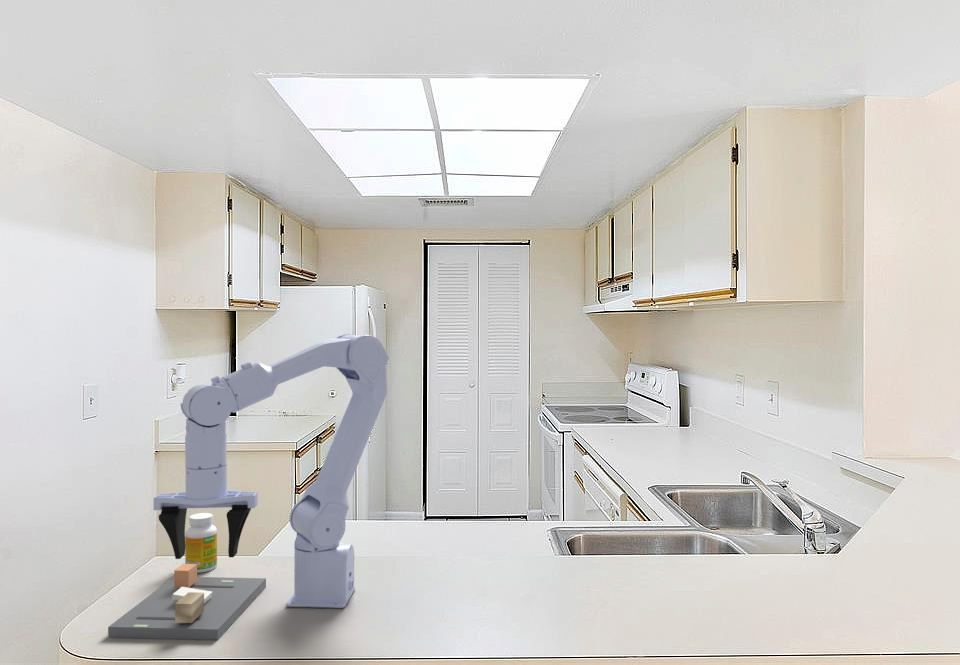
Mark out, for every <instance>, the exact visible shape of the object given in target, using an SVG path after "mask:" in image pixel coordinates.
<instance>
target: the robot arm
mask: <svg viewBox="0 0 960 665" xmlns="http://www.w3.org/2000/svg"><path fill="white" fill-rule="evenodd" d="M389 359H390V358H389V355H388V353H387V352H386V348H385V347H384V345H383V343H382V341H380V340H379V339H378V338H377V337H376V336H374V335H369V334H365V335H364V334H363V335H352V334H350V333H349V334H348V333H346V334H345V333H344V334H341V335H338V336H337V337H331V338H328V339H324V340H322V341H319V342H318V343H315V344H313V345H311V346H309V347H307V348H305V349H302V350H300V351H298V352H296V353H294V354H292V355H290V356H288V357H286V358H283V359H281V360H279V361H277V362H275V363H273V364H271V365H268V366H267V365H265V364H263V363H261V362H255V363H252V362H251V361H250V362H249V361H247V362H244V363H242V364H240V368H241V369H238V370H236V371H234V372H231V373H229V374H226V375H224V376H222V377H220V376H214V377H211V379H210V381H211V384H204V383H203V384H201V383H200V384H197V385H195V386H192V387H191V388H190V389H188V390H187V392H186V393H185V394H184V396H183V399H182V402H181V403H180V409H181V412H182V414H183V415H184V416H185V417H186V419H185V421H186V422H185V439H184V440H185V441H184V443H185V447H184V448H185V449H184V450H185V451H184V455H185V456H184V457H185V460H184V461H185V462H184V463H185V464H184V465H185V466H184V468H185V469H184V470H185V491H182V492H181V491H180V492H174V493H159V494H156V495H155V496H154V497H153V511H160V513H159V514H158V520H159V521H158V522H160V524H161V525H162V527H163V528H164V530H165V532H166V534H167V536H168V538H169V540H170V543H171V546H172V549H173V550H172V551H173V554H174V558H175V560H180V559H182V557H184V556H185V533H186V519H187V512H188V509H212V508H213V509H217V508H222V509H223V508H231V509H229V510H228V511H227V512H226V520H227V528H228V548H227V549H228V558H234V557H235V556H237V554H238V549H239V548H238V547H239V543H240V538H241V535H242V532H243V529H244V526H245V523H246V521H247V519H248V516H249V515H250V512H251V510H252V509H255V508H256V507H257V506H258V504H259V502H258V501H259V500H258V499H259V496H258V494H259V493H258V492H257V491H240V490H228V484H227V483H228V482H227V481H228V480H227V478H228V476H227V475H228V473H227V471H228V467H227V466H228V464H227V457H228V456H227V455H228V454H227V453H228V452H227V450H228V448H227V446H228V445H227V444H228V443H227V439H228V438H227V436H228V435H227V433H226V432H227V429H226V428H227V425H226V424H227V422H226V421H227V420H228V418H229V417H230V415H231V413H234V414H236V413H237V412H239V411H241V410H243V409H245V408H249V407H251V406H253V405H255V404H257V403H260V402H261V401H264V400H266V399H268V398H270V397H272V396H273V395H274V394H275V392H276V390H277V387H278V386H279V385H281V384H282V383H285V382H287V381H290V380H294V379H295V378H297V377H301V376H302V375H305V374H309V373H311V372H313V371H315V370H318V369H321V368H322V367H324V368H325V367H327V368H328V367H329V368H336V370H338V371H339V372H340V373H341V375H343V377H344V378H345V380H346V381H347V384H348V386H349V387H350V391H351V393H352V394H351V397H350V399H349V403H348V405H347V407H346V409H345V411H344V414H343V416H342V419H341V421H340V423H339V426H338V428H337V429H336V430H337V431H336V433H335V435H334V438H333V440H332V442H331V445H330V447H329V450H328V452H327V454H326V457H325V459H324V462H323V464H322V466H321V468H320V471H319V472H318V475H317V479H316V480H315V481H313V483H311V485H309V486H308V487H307V488H306V489H305V492H304V494H303V495H302V498H300V500H298V501H297V502H296V503H295V505H293V507H292V509H291V511H290V514H289V524H290V526H291V529H292V530H293V531H294V532H295V533H296V538H295V540H294V543H293V545H294V549H293V550H294V552H293V554H294V558H293V559H294V563H293V564H294V565H293V566H294V574H293V575H294V578H293V579H294V585H293V586H294V589H293V590H294V592H293V594H292V595H291V596H290V597H289V599H288V600H287V601H286V603H285V607H289V608H290V607H291V608H292V607H293V608H294V607H295V608H339V609H342V608H345V607H346V605H347V603H348V602H349V600H350V599H351V596H352V595H353V593H354V592H355V589H356V586H355V550H354V549H355V548H354V545H352V544H348V543H343V542H341V540H342V538H343V537H344V534H345V532H346V517H347V515H348V514H347V513H348V511H349V509H350V508H349V506H350V505H349V499H348V493H347V492H348V489H349V488H350V487H349V486H350V484H351V482H352V480H353V477H354V475H355V472H356V470H357V469H358V468H357V467H358V465H359V462H360V461H361V457H362V456H363V454H364V451H365V448H366V445H367V443H368V440H369V439H370V435H371V433H372V432H373V431H372V430H373V429H374V426H375V423H376V421H377V419H378V416H379V414H380V413H381V412H380V411H381V410H382V409H381V408H382V406H383V403H384V402H385V399H386V396H387V392H388V388H387V386H388V385H387V368H386V367H387V364H388V361H389Z"/></svg>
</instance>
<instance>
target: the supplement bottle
mask: <svg viewBox="0 0 960 665" xmlns="http://www.w3.org/2000/svg"><path fill="white" fill-rule="evenodd" d="M188 523H189V527H187V529H185V554H184V557H185V558H184V559H185V560H184V564H197V574H198V573H199V574H201V573H207V572H210V571H212V570H214V569H216V567H217V566H218V529H217V527H216V526H215V525H214V524H213V523H214V515H213V513H210V512H199V513H193V514H191V515H189V522H188Z"/></svg>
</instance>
